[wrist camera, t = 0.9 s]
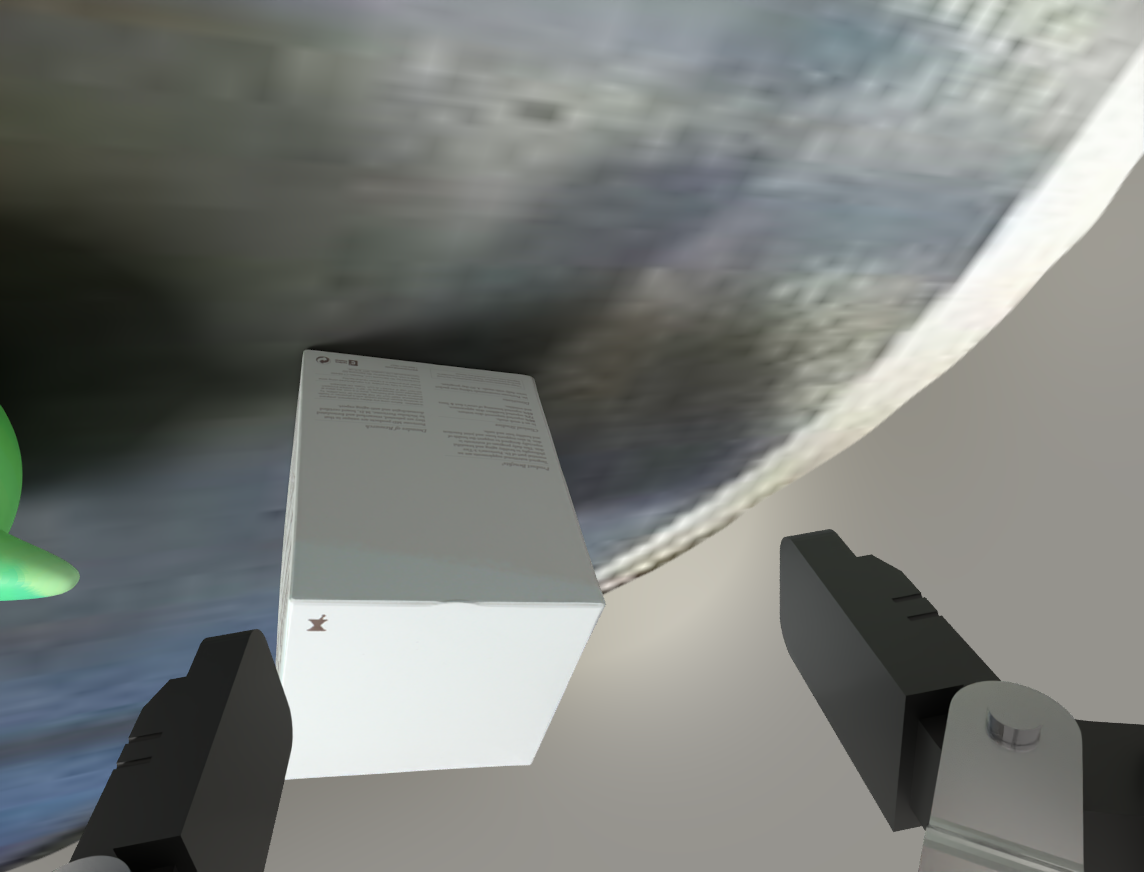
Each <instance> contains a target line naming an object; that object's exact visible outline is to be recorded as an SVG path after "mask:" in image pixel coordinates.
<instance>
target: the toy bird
mask: <svg viewBox="0 0 1144 872" xmlns="http://www.w3.org/2000/svg"><path fill="white" fill-rule="evenodd" d="M21 490H22V460H21V454H20V449H19V445H18V441H17V438H16V435H15V432H14V430H13V427H12V425H11V423H10V421H9V419H8V417H7V415H6V413H5V411H4V410H3V408H2V406H1V405H0V601H6V600H22V599H33V598H42V597H49V596H54V595H58V594H62V593H64V592H67V591H69V590H71V589H72V588H73V587H74V586H75V585H76V584H77V583H78V581H79V578H80V575H79V572H78V571H77V570H76V568H74V567H73V566H72V565H71V564H69V563H68V562H66V561H65V560H63V559H61V558H59V557H57V556H55V555H53V554H51V553H49V552H47V551H45V550H43V549H41V548H38V547H36V546H34V545H32V544H29V543H27V542H25V541H23V540H21V539H18V538H16V537H14V536H12V535H10V534H8V533H9V531H10V529H11V526H12V524H13V521H14V519H15V516H16V513H17V509H18V505H19V501H20V496H21Z"/></svg>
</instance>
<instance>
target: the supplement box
mask: <svg viewBox="0 0 1144 872" xmlns="http://www.w3.org/2000/svg"><path fill="white" fill-rule="evenodd" d="M605 605H606V604H605V600H604V597H603V594H602V592H601V589H600V586H599V583H598V580H597V578H596V575H595V572H594V569H593V566H592V563H591V560H590V557H589V554H588V551H587V548H586V545H585V542H584V538H583V535H582V532H581V529H580V526H579V523H578V519H577V516H576V513H575V509H574V506H573V503H572V500H571V497H570V494H569V491H568V487H567V484H566V481H565V478H564V475H563V472H562V469H561V466H560V463H559V460H558V456H557V453H556V450H555V447H554V443H553V440H552V437H551V434H550V430H549V427H548V424H547V421H546V418H545V415H544V411H543V408H542V405H541V402H540V399H539V395H538V392H537V388H536V384H535V380H534V378H533V377H531V376H527V375H521V374H513V373H504V372H495V371H487V370H478V369H469V368H461V367H453V366H444V365H435V364H428V363H419V362H410V361H402V360H393V359H385V358H376V357H368V356H359V355H351V354H342V353H333V352H325V351H316V350H304V352H303V358H302V368H301V378H300V387H299V396H298V404H297V414H296V423H295V433H294V442H293V452H292V461H291V470H290V479H289V488H288V497H287V508H286V519H285V529H284V542H283V555H282V569H281V583H280V599H279V616H278V634H277V652H276V670H277V672H278V675H279V678H280V681H281V684H282V687H283V690H284V693H285V695H286V698H287V701H288V704H289V707H290V712H291V717H292V727H293V741H292V749H291V754H290V759H289V763H288V767H287V772H286V776H285V780H288V779H300V778H315V777H330V776H347V775H364V774H380V773H395V772H408V771H423V770H438V769H455V768H456V769H457V768H475V767H492V766H508V765H531V763H532V761H533V759H534V756H535V755H536V753H537V751H538V748H539V746H540V744H541V742H542V740H543V737H544V735H545V733H546V731H547V729H548V727H549V724H550V722H551V720H552V718H553V715H554V713H555V711H556V709H557V707H558V704H559V702H560V700H561V698H562V696H563V694H564V691H565V689H566V687H567V685H568V682H569V680H570V678H571V676H572V673H573V671H574V669H575V667H576V665H577V663H578V661H579V658H580V656H581V654H582V652H583V650H584V648H585V646H586V644H587V641H588V640H589V638H590V636H591V634H592V632H593V629H594V627H595V625H596V623H597V621H598V619H599V617H600V615H601V613H602V611H603V609H604V607H605Z"/></svg>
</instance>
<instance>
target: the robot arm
mask: <svg viewBox="0 0 1144 872" xmlns="http://www.w3.org/2000/svg"><path fill="white" fill-rule="evenodd" d="M780 622H781V629H782V634H783V638H784V641H785V644H786V647H787V650H788V652H789V654H790V656H791V658H792V660H793V662H794V663H795V665H796V667H797V668H798V670H799V672H800V673H801V675H802V677H803V679H804V680H805V682H806V684H807V685H808V687H809V689H810V691H811V692H812V694H813V696H814V697H815V699H816V700H817V702H818V704H819V706H820V707H821V709H822V711H823V713H824V714H825V716H826V718H827V719H828V721H829V722H830V724H831V726H832V728H833V730H834V731H835V733H836V735H837V736H838V738H839V740H840V742H841V743H842V745H843V747H844V748H845V750H846V752H847V754H848V755H849V757H850V758H851V760H852V762H853V763H854V765H855V767H856V769H857V771H858V772H859V774H860V775H861V777H862V779H863V781H864V782H865V784H866V786H867V787H868V789H869V791H870V793H871V794H872V796H873V798H874V799H875V801H876V803H877V804H878V806H879V808H880V810H881V811H882V813H883V815H884V817H885V818H886V820H887V822H888V823H889V825H890V827H891V828H892V830H893V832H895V831H900V830H905V829H910V828H914V827H919V826H923V828H924V830H925V831H926V832H925V837H924V842H923V848H922V853H921V859H920V865H919V870H918V872H1144V725H1139V724H1123V723H1108V722H1093V721H1083V720H1076V719H1074V718H1073V716H1072V715H1071V714H1070V713H1069V712H1068V711H1067V710H1066V709H1065V708H1064V707H1063V706H1061V705H1060V704H1059V703H1058V702H1056V701H1055V700H1053V699H1052V698H1050V697H1049V696H1047V695H1045V694H1043V693H1041V692H1039V691H1037V690H1034V689H1032V688H1030V687H1026V686H1023V685H1019V684H1016V683H1011V682H1004V681H1001V680H1000V679H999V678H998V677H997V676H996V675H995V674H994V673H993V671H991V669H990V668H989V667H988V666H987V665H986V664H985V663H984V662H983V660H982V659H981V658H980V657H979V656H978V655H977V654H976V653H975V652H974V651H973V649H972V648H971V647H970V646H969V645H968V644H967V643H966V642H965V641H964V640H963V638H962V637H961V636H960V635H959V634H958V633H957V632H956V631H955V630H954V629H953V627H952V626H951V625H950V624H949V623H948V622H947V621H946V620H945V619H944V618H943V616H939V615H938V612H937V610H936V609H935V608H934V607H933V605H932V604H931V603H930V602H929V601H928V600H927V599H926V598H925V597H924V598H922V596H921V592H920V591H919V590H918V589H917V588H916V587H915V586H914V585H913V584H912V582H911V581H910V580H909V579H908V578H907V577H906V576H905V575H904V574H903V572H902V571H900V570H898V569H897V568H895V567H893V566H891V565H889V564H887V563H886V562H884V561H882V560H880V559H878V558H876V557H875V556H873V555H866V556H862V557H856V556H855V555H854V553H852V551H851V550H850V549H849V548H848V546H847V545H846V544H845V543H844V542H843V541H842V539H841V538H840V537H839V536H838V535H837V533H836V532H834V531H833V530H831V529H828V530H822V531H816V532H811V533H805V534H800V535H794V536H788V537H784V538H783V539H782V541H781V545H780ZM292 741H293V727H292V717H291V712H290V707H289V704H288V701H287V698H286V695H285V693H284V690H283V687H282V684H281V681H280V678H279V675H278V672H277V670H276V667H275V664H274V661H273V658H272V655H271V652H270V650H269V647H268V644H267V641H266V639H265V637H264V635H263V633H262V632H261V631H260V630H258V629H254V630H249V631H243V632H237V633H232V634H226V635H220V636H215V637H209V638H205V639H204V640H203V641H202V643H201V644H200V646H199V649H198V651H197V653H196V656H195V658H194V660H193V663H192V665H191V667H190V670H189V672H188V674H187V677H181V678H176V679H170V680H169V681H168V682H167V683H166V684H165V685H164V686H163V687H162V688H161V690H160V691H159V692H158V693H157V694H156V695H155V696H154V697H153V698H152V699H151V700H150V701H149V702H148V703H147V704H146V705H145V706H144V707H143V709H142V711H141V713H140V715H139V717H138V719H137V721H136V723H135V726H134V728H133V730H132V732H131V734H130V736H129V744H125V746H124V749H123V751H122V753H121V755H120V757H119V759H118V761H117V769H114V770H113V772H112V774H111V776H110V778H109V780H108V782H107V784H106V786H105V788H104V790H103V793H102V795H101V797H100V799H99V801H98V803H97V805H96V807H95V809H94V811H93V814H92V816H91V818H90V820H89V822H88V824H87V826H86V828H85V830H84V832H83V834H82V837H81V839H80V841H79V843H78V845H77V847H76V849H75V851H74V853H73V855H72V858H71V860H70V862H69V863H68V864H66V865H64V866H61V867H59V868H57V869H55V870H54V871H52V872H264V868H265V863H266V859H267V855H268V850H269V845H270V841H271V837H272V833H273V828H274V824H275V820H276V815H277V811H278V807H279V802H280V798H281V793H282V789H283V785H284V780H285V776H286V772H287V767H288V763H289V759H290V754H291V749H292Z"/></svg>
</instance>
